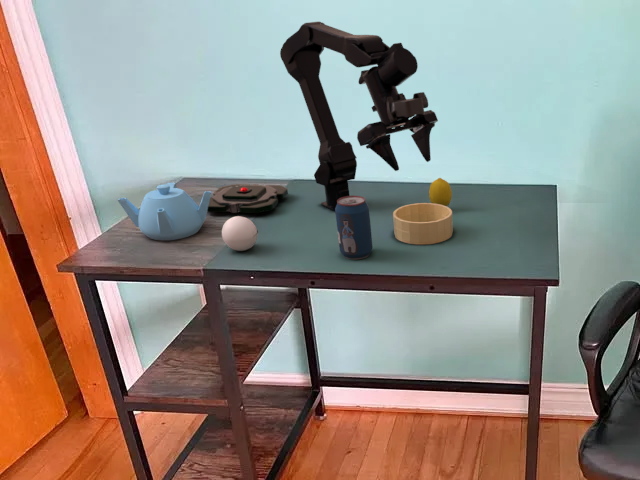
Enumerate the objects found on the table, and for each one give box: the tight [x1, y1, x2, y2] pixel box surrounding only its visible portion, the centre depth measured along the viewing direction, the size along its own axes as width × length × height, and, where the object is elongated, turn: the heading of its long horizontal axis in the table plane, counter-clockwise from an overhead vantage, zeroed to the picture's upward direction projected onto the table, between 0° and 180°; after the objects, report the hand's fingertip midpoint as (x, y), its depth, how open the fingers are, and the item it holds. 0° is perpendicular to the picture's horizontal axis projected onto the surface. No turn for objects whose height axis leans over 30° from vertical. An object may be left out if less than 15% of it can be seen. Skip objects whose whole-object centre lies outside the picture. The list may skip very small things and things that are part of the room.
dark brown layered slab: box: [207, 183, 289, 214], centre depth 180 cm, size 18×18×5 cm
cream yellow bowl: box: [392, 202, 454, 246], centre depth 162 cm, size 13×13×5 cm
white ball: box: [221, 215, 259, 252], centre depth 155 cm, size 10×7×7 cm
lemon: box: [428, 177, 453, 207], centre depth 175 cm, size 6×6×8 cm
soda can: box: [334, 195, 373, 261], centre depth 150 cm, size 7×7×12 cm
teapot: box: [117, 182, 212, 241], centre depth 162 cm, size 15×15×11 cm
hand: (413, 165), depth 155 cm, fingers open, 9 cm apart
